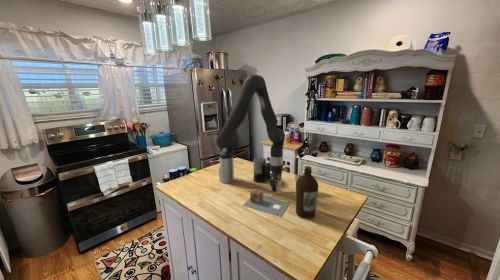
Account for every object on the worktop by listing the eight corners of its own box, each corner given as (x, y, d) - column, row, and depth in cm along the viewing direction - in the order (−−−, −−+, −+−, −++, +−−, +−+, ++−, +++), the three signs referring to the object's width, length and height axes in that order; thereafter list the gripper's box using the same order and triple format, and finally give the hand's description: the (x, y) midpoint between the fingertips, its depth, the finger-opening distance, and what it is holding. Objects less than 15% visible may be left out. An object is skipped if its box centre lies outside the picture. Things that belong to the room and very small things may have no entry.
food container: (291, 191, 127) (292, 176, 125) (294, 187, 132) (294, 172, 130) (312, 196, 121) (313, 180, 119) (314, 191, 127) (315, 176, 124)
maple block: (270, 191, 124) (270, 181, 123) (273, 187, 129) (273, 178, 127) (278, 192, 122) (278, 183, 120) (281, 189, 126) (281, 180, 125)
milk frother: (250, 180, 143) (250, 160, 139) (261, 172, 156) (261, 154, 152) (268, 185, 135) (269, 164, 132) (279, 177, 148) (279, 157, 144)
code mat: (242, 205, 113) (242, 205, 113) (254, 193, 125) (254, 193, 125) (281, 216, 103) (281, 216, 103) (289, 202, 115) (289, 202, 115)
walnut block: (250, 202, 116) (250, 192, 114) (255, 197, 120) (254, 188, 118) (258, 204, 113) (258, 194, 112) (262, 200, 117) (262, 190, 116)
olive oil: (291, 209, 109) (293, 164, 103) (309, 206, 111) (312, 162, 105) (300, 221, 99) (303, 172, 93) (320, 218, 101) (324, 170, 95)
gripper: (275, 158, 129) (274, 183, 133) (265, 166, 117) (265, 193, 121) (286, 160, 125) (285, 185, 130) (278, 168, 113) (277, 196, 117)
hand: (275, 189), depth 125 cm, fingers closed on maple block, 5 cm apart
